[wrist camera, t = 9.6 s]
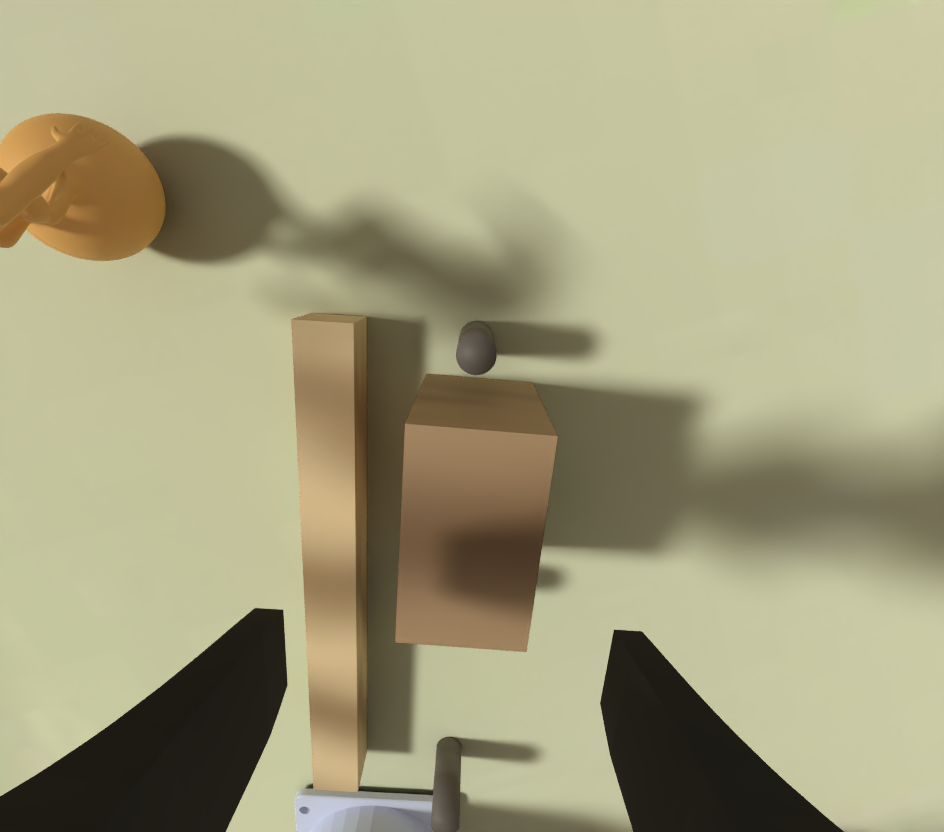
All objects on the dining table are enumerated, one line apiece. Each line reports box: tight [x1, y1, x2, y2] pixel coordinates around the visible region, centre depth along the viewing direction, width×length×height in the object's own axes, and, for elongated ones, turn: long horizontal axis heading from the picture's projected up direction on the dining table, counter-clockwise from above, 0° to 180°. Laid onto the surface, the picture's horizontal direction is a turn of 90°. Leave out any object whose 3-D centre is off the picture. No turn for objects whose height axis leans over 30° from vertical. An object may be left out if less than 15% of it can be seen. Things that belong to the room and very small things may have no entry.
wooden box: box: [395, 374, 558, 652], centre depth 17 cm, size 7×4×6 cm, turn 175°
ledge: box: [291, 313, 496, 832], centre depth 19 cm, size 21×7×4 cm, turn 176°
